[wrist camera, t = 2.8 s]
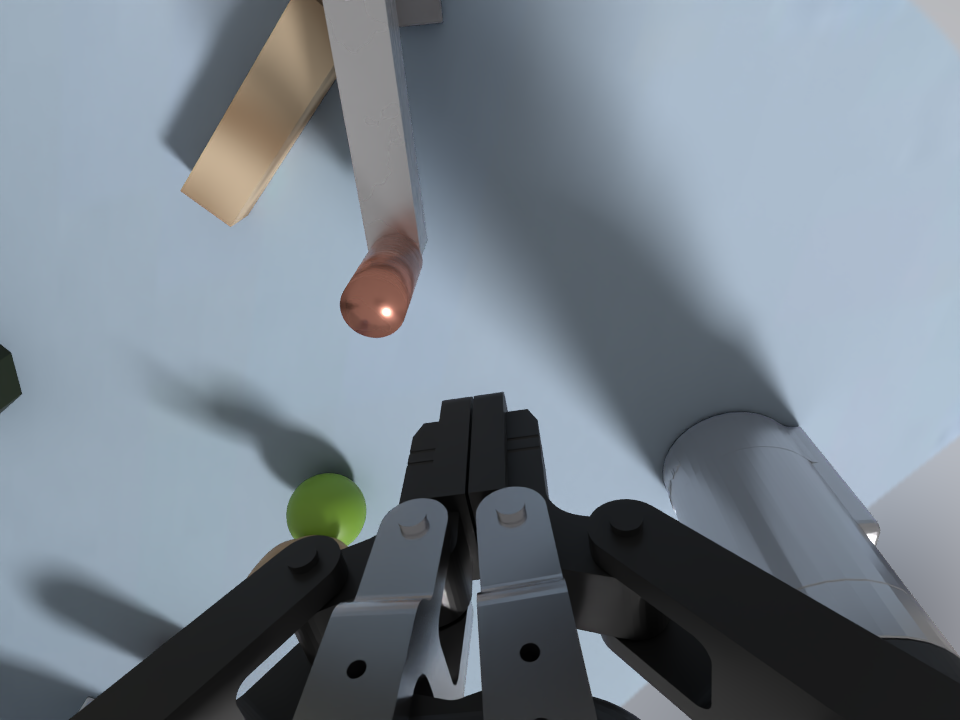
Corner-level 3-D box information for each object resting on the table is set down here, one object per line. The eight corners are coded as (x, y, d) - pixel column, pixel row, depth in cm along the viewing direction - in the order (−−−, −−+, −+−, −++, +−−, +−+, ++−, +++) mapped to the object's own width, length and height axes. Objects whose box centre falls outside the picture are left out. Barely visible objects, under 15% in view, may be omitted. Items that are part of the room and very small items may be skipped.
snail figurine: (282, 455, 42) (211, 591, 32) (370, 459, 42) (329, 596, 32) (291, 512, 45) (227, 655, 34) (374, 515, 45) (337, 660, 34)
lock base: (425, -145, 26) (406, -199, 21) (461, 197, 33) (454, 227, 28) (86, -104, 27) (-21, -143, 22) (190, 220, 34) (130, 253, 29)
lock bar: (308, -102, 24) (217, -175, 16) (393, -112, 24) (343, -192, 16) (375, 268, 32) (335, 340, 24) (440, 262, 32) (422, 334, 24)
